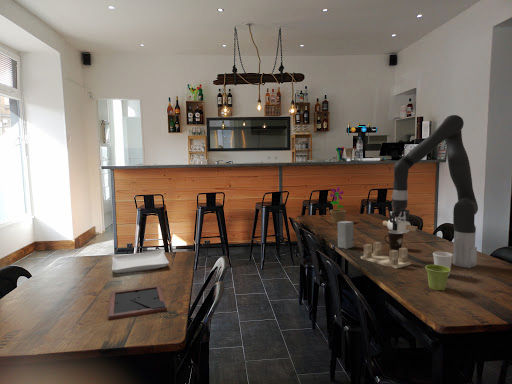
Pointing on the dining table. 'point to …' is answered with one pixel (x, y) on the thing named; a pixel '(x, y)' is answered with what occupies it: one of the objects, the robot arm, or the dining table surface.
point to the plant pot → (437, 276)
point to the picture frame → (136, 302)
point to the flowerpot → (338, 214)
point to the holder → (386, 260)
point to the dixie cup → (443, 259)
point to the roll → (400, 226)
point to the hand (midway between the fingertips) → (398, 229)
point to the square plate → (139, 262)
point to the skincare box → (345, 234)
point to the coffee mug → (395, 239)
